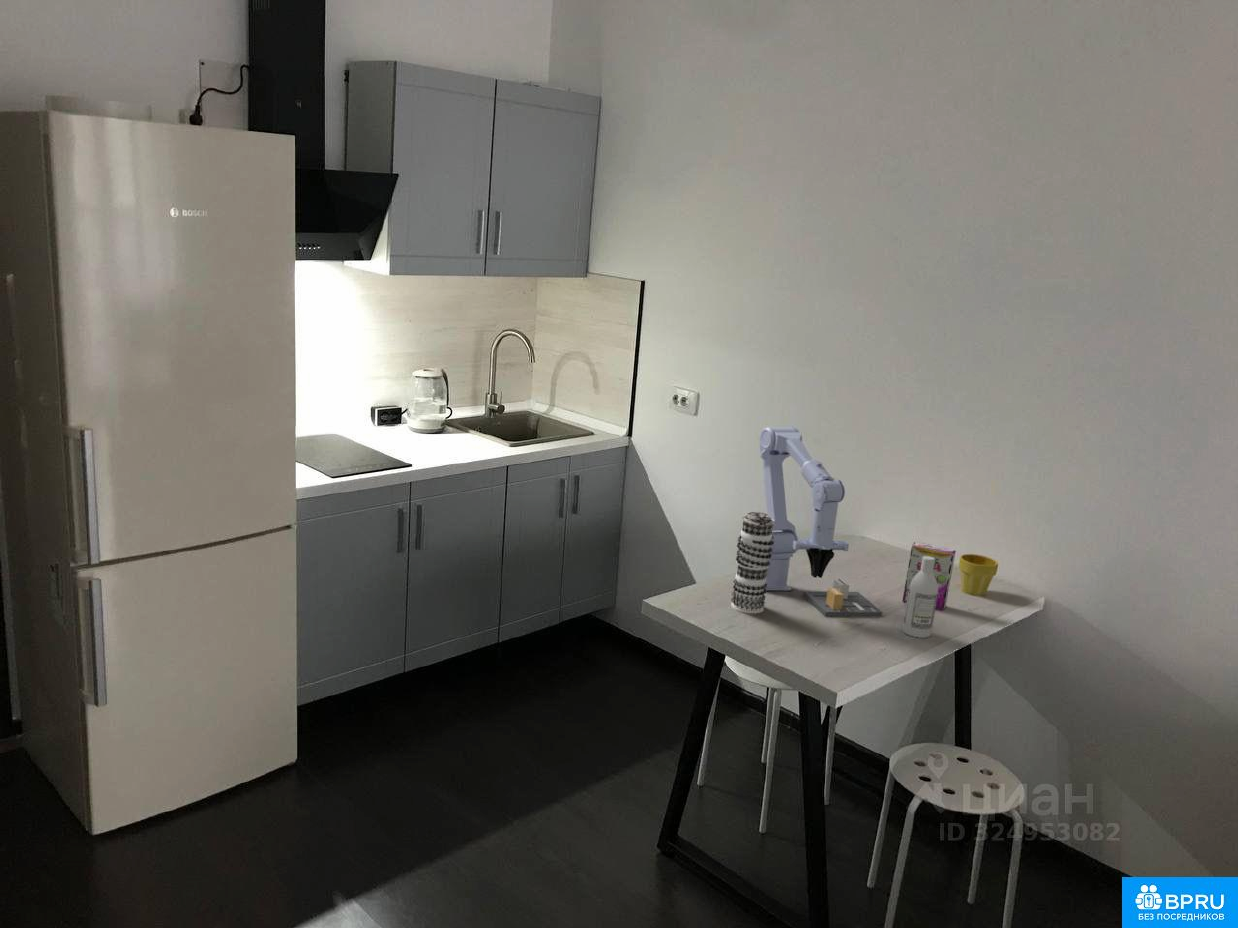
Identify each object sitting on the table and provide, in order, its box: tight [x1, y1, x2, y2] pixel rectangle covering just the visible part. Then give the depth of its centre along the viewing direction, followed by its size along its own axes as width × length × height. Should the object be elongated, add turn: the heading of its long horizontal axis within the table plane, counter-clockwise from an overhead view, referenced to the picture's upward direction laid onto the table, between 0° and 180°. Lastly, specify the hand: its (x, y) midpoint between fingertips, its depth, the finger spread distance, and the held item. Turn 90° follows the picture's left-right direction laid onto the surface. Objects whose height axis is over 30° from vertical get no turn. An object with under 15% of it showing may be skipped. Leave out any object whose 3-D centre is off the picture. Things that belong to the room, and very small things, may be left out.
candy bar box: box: [902, 541, 956, 612], centre depth 280 cm, size 11×5×16 cm, turn 65°
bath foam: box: [902, 556, 938, 639], centre depth 258 cm, size 7×7×20 cm
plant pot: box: [958, 553, 999, 597], centre depth 295 cm, size 10×10×10 cm
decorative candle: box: [730, 511, 774, 614], centre depth 265 cm, size 9×9×25 cm
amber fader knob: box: [826, 587, 844, 609], centre depth 270 cm, size 2×4×4 cm, turn 12°
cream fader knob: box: [832, 578, 850, 599], centre depth 278 cm, size 2×4×4 cm, turn 12°
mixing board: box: [802, 590, 883, 618], centre depth 275 cm, size 16×15×1 cm
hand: (816, 576), depth 267 cm, fingers closed
